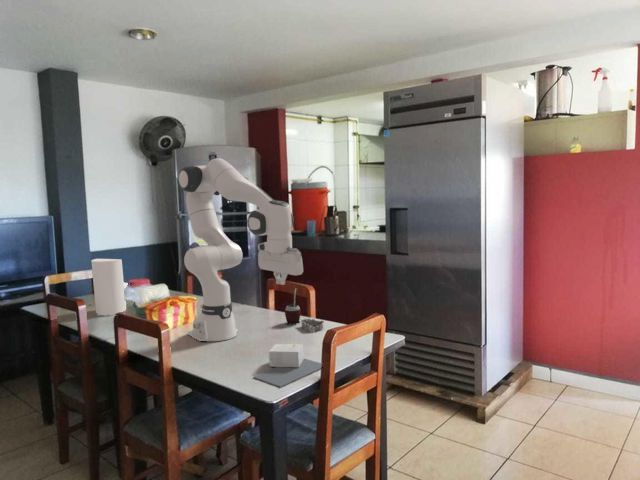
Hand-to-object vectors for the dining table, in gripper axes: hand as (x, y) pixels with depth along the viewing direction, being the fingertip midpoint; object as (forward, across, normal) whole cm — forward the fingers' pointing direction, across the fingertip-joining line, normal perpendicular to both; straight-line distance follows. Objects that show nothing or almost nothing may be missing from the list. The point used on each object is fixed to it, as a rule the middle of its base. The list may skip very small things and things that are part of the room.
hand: (280, 284), depth 177 cm
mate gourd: (+28, +27, -32) cm, 50 cm away
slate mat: (+26, -14, +10) cm, 31 cm away
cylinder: (+32, +122, +8) cm, 126 cm away
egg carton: (+28, +14, -31) cm, 44 cm away
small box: (+23, -3, +8) cm, 25 cm away
